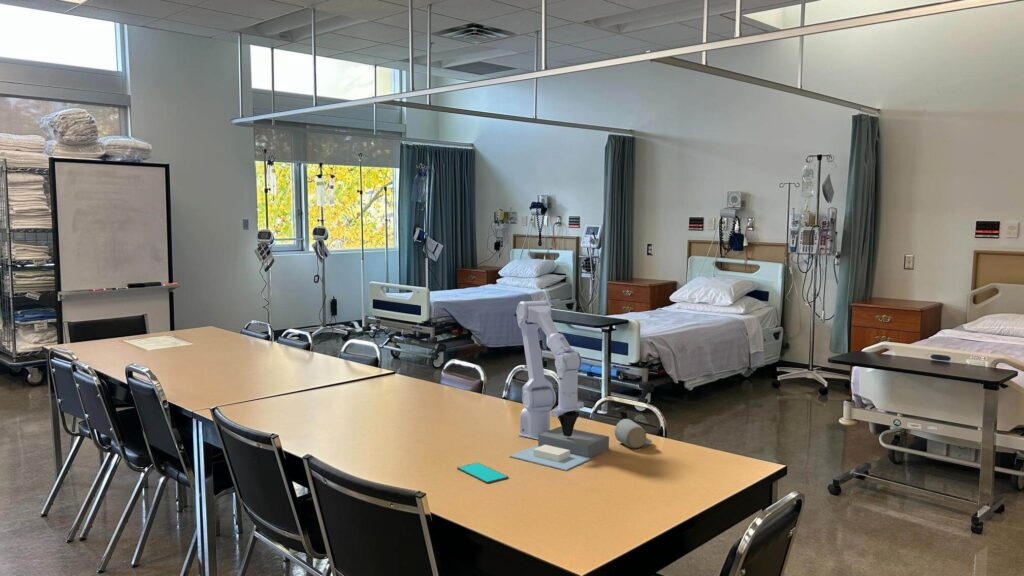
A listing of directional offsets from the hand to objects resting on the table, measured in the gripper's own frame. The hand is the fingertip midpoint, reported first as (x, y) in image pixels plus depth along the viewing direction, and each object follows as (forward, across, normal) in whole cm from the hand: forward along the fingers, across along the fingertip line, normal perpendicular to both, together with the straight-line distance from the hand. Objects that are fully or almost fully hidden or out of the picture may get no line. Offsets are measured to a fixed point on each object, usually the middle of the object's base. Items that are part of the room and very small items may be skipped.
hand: (567, 435), depth 226 cm
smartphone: (+5, -32, +7) cm, 33 cm away
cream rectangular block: (+2, -8, 0) cm, 9 cm away
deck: (+5, +3, 0) cm, 6 cm away
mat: (+5, -9, 0) cm, 10 cm away
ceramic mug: (+5, +18, -13) cm, 23 cm away
